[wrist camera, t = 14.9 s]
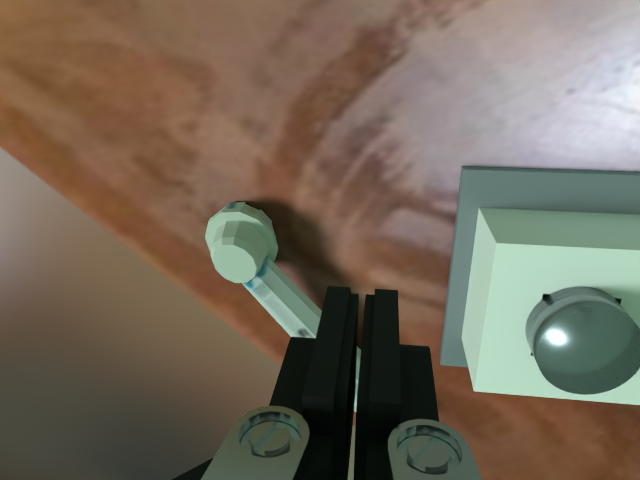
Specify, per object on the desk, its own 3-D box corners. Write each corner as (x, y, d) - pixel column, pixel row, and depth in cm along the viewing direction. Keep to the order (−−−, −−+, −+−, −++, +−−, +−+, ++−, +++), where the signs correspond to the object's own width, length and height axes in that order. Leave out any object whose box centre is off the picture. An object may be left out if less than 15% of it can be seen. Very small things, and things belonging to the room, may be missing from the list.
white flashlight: (373, 445, 46) (177, 260, 37) (370, 391, 52) (199, 220, 43) (421, 422, 45) (228, 222, 36) (412, 368, 51) (244, 185, 42)
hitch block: (461, 166, 39) (478, 198, 32) (668, 173, 37) (736, 208, 30) (439, 358, 46) (449, 420, 39) (612, 371, 44) (656, 439, 37)
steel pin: (513, 247, 39) (546, 306, 31) (600, 251, 38) (658, 313, 30) (501, 318, 42) (529, 390, 33) (583, 323, 41) (632, 398, 33)
